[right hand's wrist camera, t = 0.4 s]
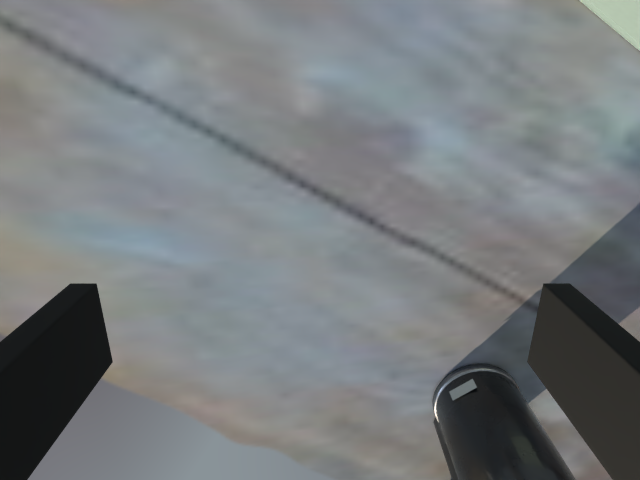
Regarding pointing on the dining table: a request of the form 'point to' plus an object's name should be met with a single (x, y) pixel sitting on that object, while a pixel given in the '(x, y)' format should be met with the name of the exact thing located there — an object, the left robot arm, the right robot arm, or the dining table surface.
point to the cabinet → (619, 17)
